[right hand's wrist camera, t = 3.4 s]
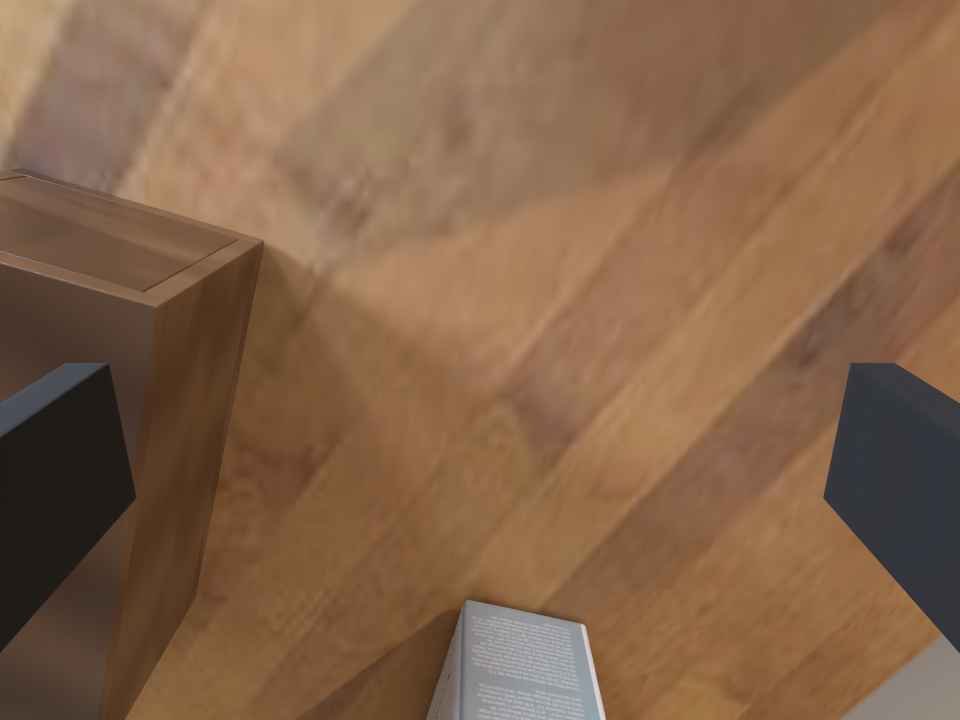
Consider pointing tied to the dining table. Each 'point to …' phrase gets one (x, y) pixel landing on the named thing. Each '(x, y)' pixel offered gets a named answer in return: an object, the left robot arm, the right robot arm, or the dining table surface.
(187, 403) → the cabinet
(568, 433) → the dining table surface
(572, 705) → the hard drive box
